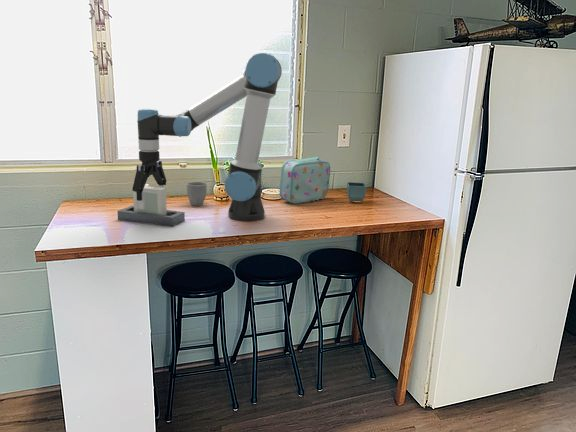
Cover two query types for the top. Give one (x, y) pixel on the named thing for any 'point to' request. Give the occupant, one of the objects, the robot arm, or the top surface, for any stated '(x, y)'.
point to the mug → (196, 192)
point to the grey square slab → (152, 200)
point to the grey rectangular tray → (151, 217)
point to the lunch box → (304, 180)
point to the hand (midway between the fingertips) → (151, 204)
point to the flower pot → (356, 191)
